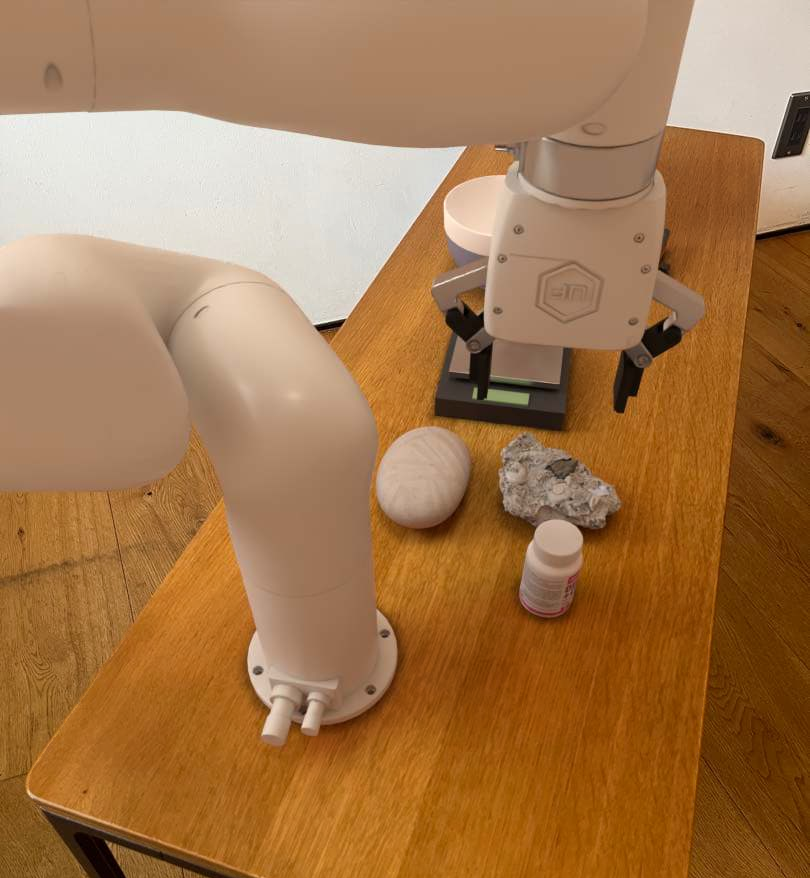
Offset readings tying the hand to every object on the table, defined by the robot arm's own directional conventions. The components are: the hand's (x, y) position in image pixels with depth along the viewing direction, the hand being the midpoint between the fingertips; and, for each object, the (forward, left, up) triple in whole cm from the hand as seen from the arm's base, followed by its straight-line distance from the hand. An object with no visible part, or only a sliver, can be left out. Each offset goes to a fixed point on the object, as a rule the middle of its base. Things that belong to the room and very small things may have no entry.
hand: (550, 394), depth 56 cm
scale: (+28, +4, -21) cm, 35 cm away
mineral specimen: (+9, -2, -21) cm, 23 cm away
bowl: (+50, +7, -21) cm, 55 cm away
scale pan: (+29, +4, -18) cm, 34 cm away
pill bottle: (-2, -3, -21) cm, 22 cm away
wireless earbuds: (+56, -13, -21) cm, 61 cm away
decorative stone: (+8, +11, -21) cm, 25 cm away
